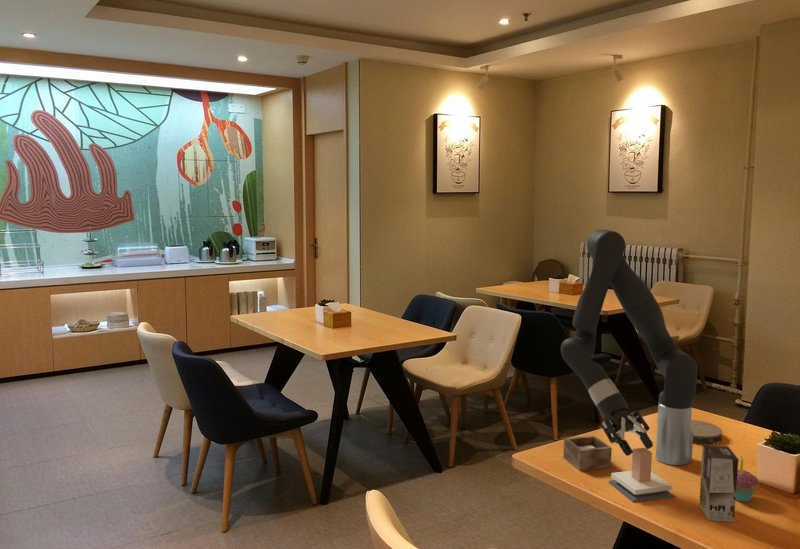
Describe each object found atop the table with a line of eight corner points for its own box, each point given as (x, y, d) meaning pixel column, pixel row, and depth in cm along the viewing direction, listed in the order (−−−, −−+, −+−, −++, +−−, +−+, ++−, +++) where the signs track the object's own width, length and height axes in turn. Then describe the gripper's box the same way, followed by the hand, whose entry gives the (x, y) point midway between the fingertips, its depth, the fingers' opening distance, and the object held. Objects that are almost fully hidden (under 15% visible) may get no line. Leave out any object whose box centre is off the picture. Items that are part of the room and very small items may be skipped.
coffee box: (735, 523, 165) (739, 459, 163) (706, 520, 166) (710, 457, 164) (725, 505, 173) (729, 445, 171) (698, 503, 175) (702, 443, 173)
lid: (645, 477, 189) (647, 441, 188) (671, 494, 179) (673, 456, 177) (611, 481, 186) (612, 445, 185) (634, 499, 176) (636, 460, 175)
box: (593, 454, 207) (594, 435, 206) (610, 467, 197) (611, 447, 196) (563, 457, 204) (564, 438, 204) (579, 470, 195) (580, 450, 194)
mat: (647, 478, 190) (647, 476, 190) (673, 497, 178) (674, 495, 178) (608, 482, 187) (608, 480, 187) (633, 502, 175) (633, 499, 175)
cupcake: (756, 507, 172) (759, 463, 171) (720, 499, 177) (723, 455, 175) (759, 495, 180) (762, 451, 178) (724, 487, 184) (727, 445, 183)
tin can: (687, 424, 234) (688, 416, 234) (731, 438, 221) (732, 430, 220) (659, 433, 225) (659, 425, 225) (703, 449, 212) (703, 439, 212)
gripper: (598, 396, 183) (632, 450, 175) (632, 387, 191) (665, 439, 183) (582, 410, 188) (614, 463, 180) (616, 401, 196) (648, 451, 188)
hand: (640, 451), depth 182 cm, fingers open, 8 cm apart
